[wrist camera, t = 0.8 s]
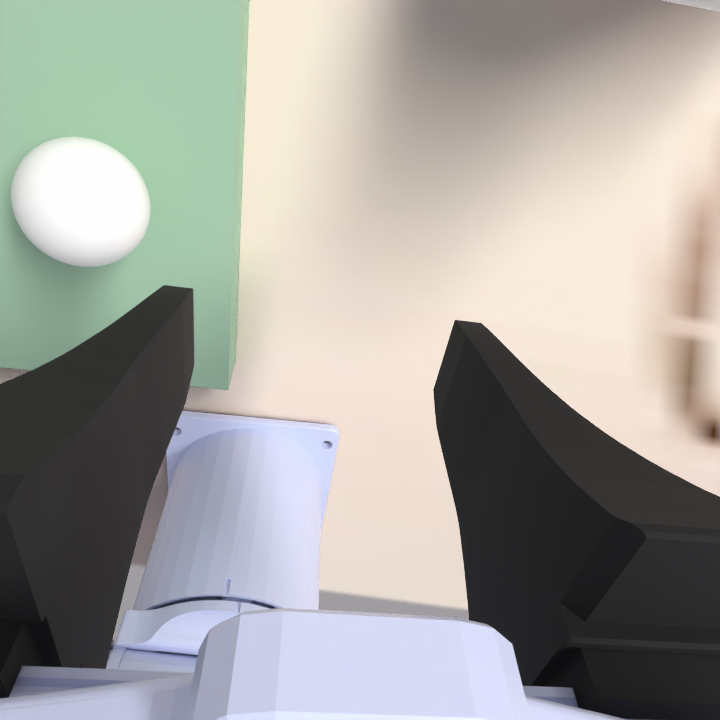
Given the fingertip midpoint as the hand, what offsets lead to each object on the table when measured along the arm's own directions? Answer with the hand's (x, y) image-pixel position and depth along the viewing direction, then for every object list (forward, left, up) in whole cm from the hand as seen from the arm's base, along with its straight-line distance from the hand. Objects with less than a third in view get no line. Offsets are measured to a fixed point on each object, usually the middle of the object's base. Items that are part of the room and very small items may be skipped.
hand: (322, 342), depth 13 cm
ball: (0, +7, -6) cm, 9 cm away
